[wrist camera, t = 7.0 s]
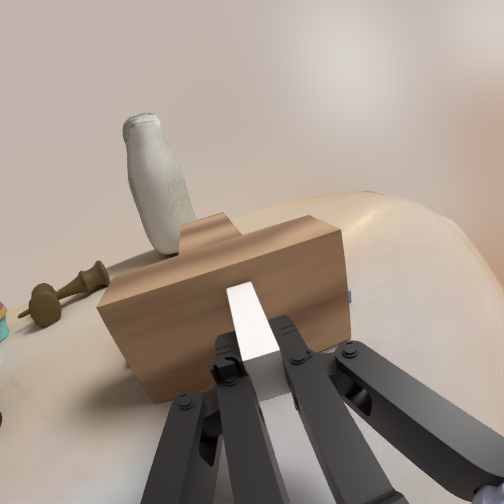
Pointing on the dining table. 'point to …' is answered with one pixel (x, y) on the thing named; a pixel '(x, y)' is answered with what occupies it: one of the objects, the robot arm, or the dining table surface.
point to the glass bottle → (156, 182)
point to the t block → (225, 297)
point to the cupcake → (3, 322)
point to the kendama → (63, 295)
